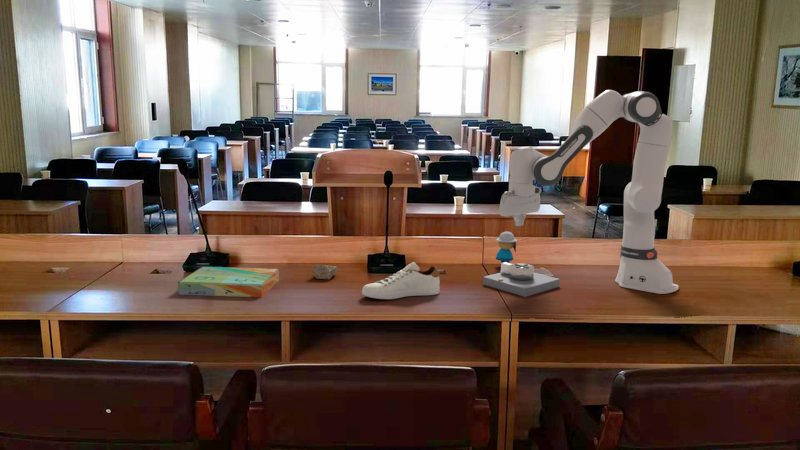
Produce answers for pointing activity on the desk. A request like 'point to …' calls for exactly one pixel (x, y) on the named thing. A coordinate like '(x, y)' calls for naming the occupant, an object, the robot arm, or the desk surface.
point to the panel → (521, 283)
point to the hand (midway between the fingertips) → (519, 225)
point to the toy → (506, 247)
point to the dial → (518, 270)
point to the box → (229, 282)
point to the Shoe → (405, 284)
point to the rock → (324, 271)
